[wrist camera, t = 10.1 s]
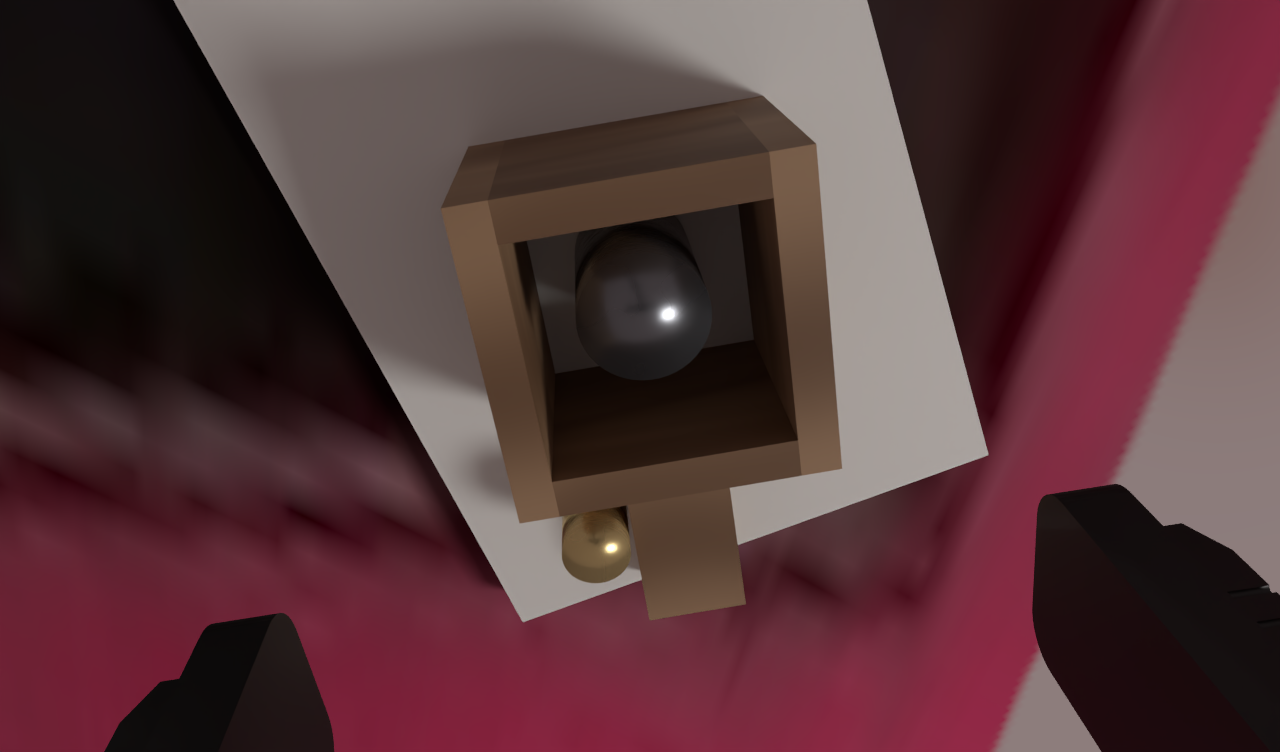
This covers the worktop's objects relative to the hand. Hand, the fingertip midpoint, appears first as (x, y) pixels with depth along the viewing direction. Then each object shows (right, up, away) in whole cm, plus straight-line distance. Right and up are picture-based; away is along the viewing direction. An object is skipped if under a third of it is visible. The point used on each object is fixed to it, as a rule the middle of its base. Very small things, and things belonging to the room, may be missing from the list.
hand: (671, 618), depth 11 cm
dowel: (-1, 0, +14) cm, 14 cm away
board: (-1, +6, +13) cm, 14 cm away
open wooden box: (0, +3, +13) cm, 13 cm away
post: (0, +5, +12) cm, 13 cm away
